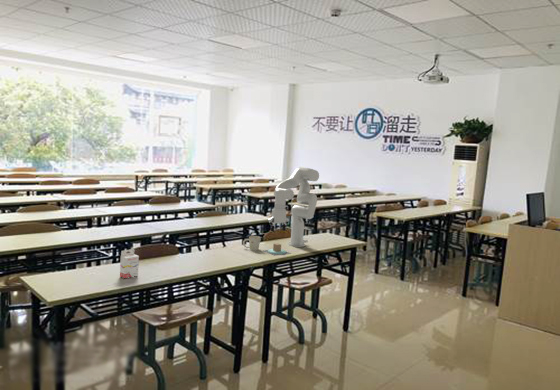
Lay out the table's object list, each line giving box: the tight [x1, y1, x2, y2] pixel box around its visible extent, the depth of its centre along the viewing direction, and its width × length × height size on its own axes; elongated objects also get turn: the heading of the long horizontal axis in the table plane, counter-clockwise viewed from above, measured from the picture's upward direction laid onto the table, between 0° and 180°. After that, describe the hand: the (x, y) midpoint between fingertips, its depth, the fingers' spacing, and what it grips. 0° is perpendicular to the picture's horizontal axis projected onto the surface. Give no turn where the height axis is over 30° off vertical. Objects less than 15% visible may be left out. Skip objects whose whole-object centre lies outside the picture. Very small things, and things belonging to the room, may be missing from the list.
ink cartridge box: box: [119, 248, 140, 279], centre depth 245 cm, size 9×5×15 cm, turn 141°
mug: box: [242, 235, 261, 251], centre depth 322 cm, size 8×13×10 cm, turn 89°
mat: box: [262, 249, 292, 257], centre depth 318 cm, size 15×15×1 cm
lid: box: [267, 242, 287, 255], centre depth 318 cm, size 13×13×6 cm
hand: (278, 230), depth 316 cm, fingers open, 9 cm apart
